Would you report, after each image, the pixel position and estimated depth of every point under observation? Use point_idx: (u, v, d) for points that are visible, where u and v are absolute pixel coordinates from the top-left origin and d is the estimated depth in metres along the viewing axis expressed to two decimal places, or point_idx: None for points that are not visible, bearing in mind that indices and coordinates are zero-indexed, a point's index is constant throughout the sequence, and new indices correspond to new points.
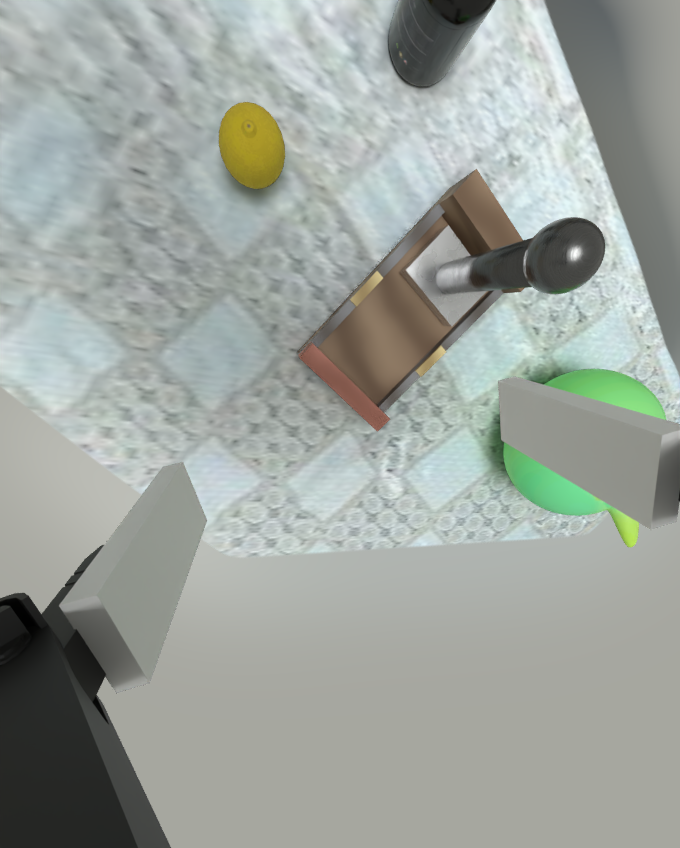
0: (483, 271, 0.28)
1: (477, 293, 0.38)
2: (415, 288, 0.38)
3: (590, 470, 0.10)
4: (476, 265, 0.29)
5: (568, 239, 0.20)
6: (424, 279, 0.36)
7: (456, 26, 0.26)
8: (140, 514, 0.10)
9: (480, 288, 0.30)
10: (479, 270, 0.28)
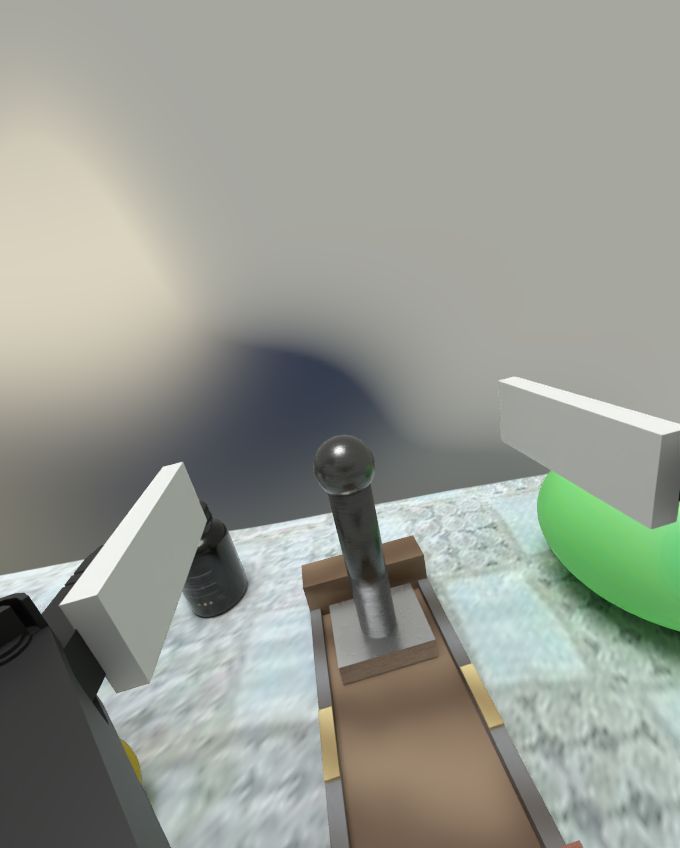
0: (350, 552, 0.26)
1: (410, 598, 0.32)
2: (370, 670, 0.28)
3: (591, 470, 0.10)
4: (347, 561, 0.26)
5: (321, 450, 0.24)
6: (362, 650, 0.28)
7: (213, 550, 0.37)
8: (140, 514, 0.10)
9: (373, 565, 0.26)
10: (350, 557, 0.26)
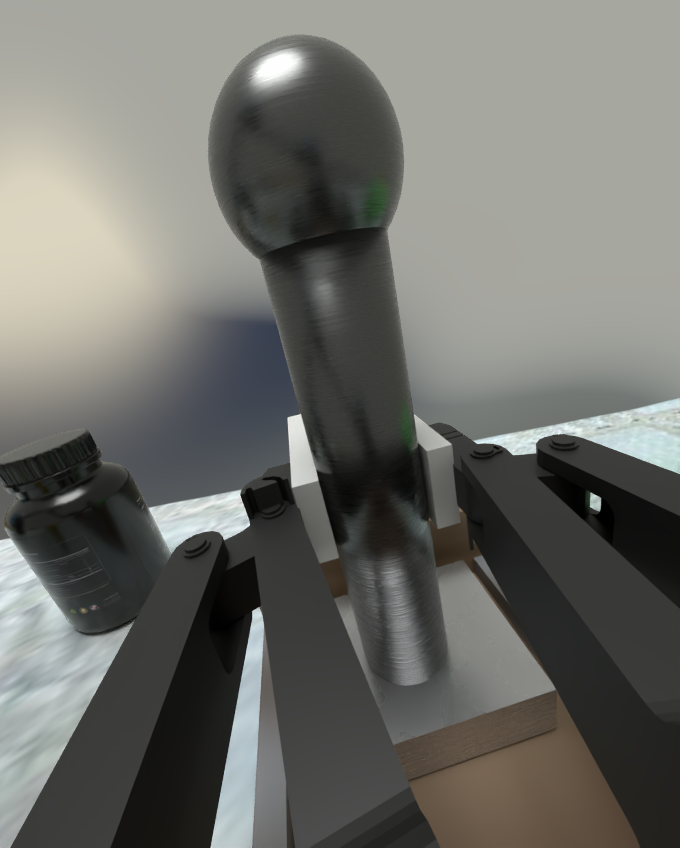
0: (334, 451, 0.09)
1: (469, 591, 0.15)
2: None
3: None
4: (328, 484, 0.10)
5: None
6: None
7: (92, 509, 0.20)
8: (301, 442, 0.12)
9: (400, 493, 0.09)
10: (335, 470, 0.09)
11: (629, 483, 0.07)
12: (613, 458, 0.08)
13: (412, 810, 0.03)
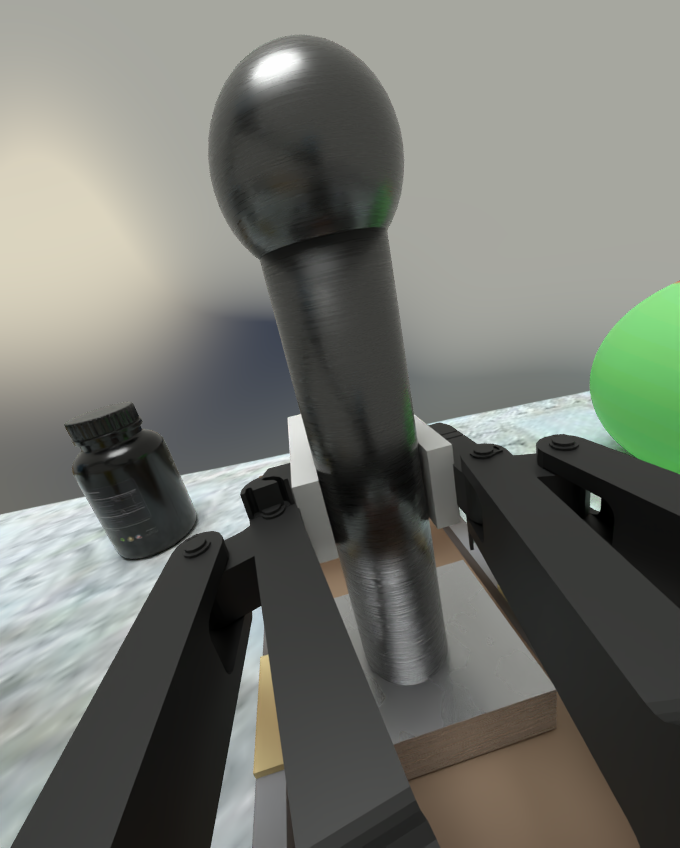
0: (334, 451, 0.09)
1: (469, 591, 0.15)
2: None
3: None
4: (328, 484, 0.10)
5: None
6: None
7: (138, 460, 0.26)
8: (302, 442, 0.12)
9: (400, 493, 0.09)
10: (335, 470, 0.09)
11: (629, 483, 0.07)
12: (614, 458, 0.08)
13: (412, 810, 0.03)
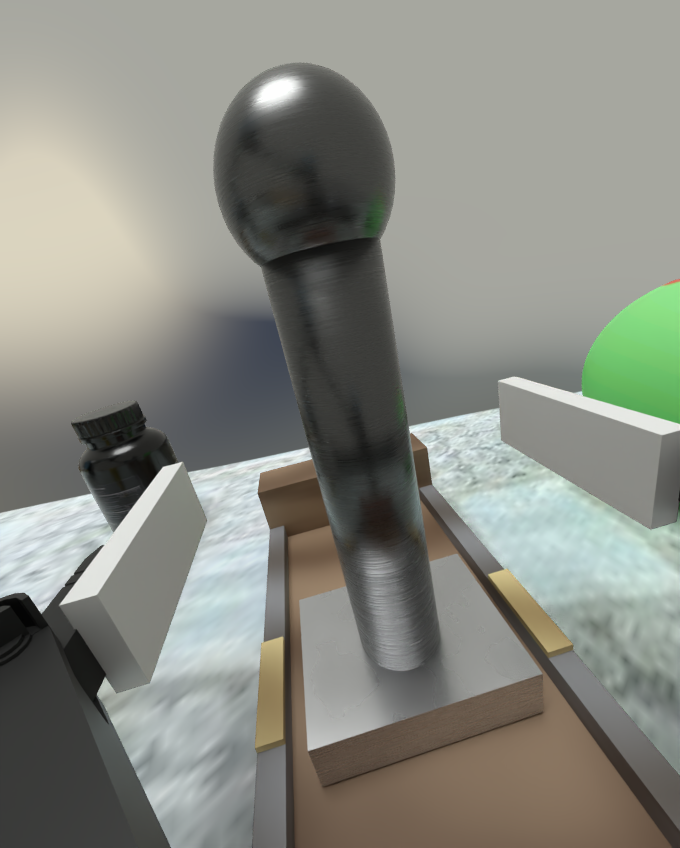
0: (331, 447, 0.10)
1: (462, 583, 0.15)
2: (386, 752, 0.11)
3: (591, 470, 0.10)
4: (325, 478, 0.10)
5: None
6: (365, 701, 0.12)
7: (143, 457, 0.27)
8: (140, 514, 0.10)
9: (393, 486, 0.10)
10: (332, 464, 0.10)
11: None
12: None
13: None
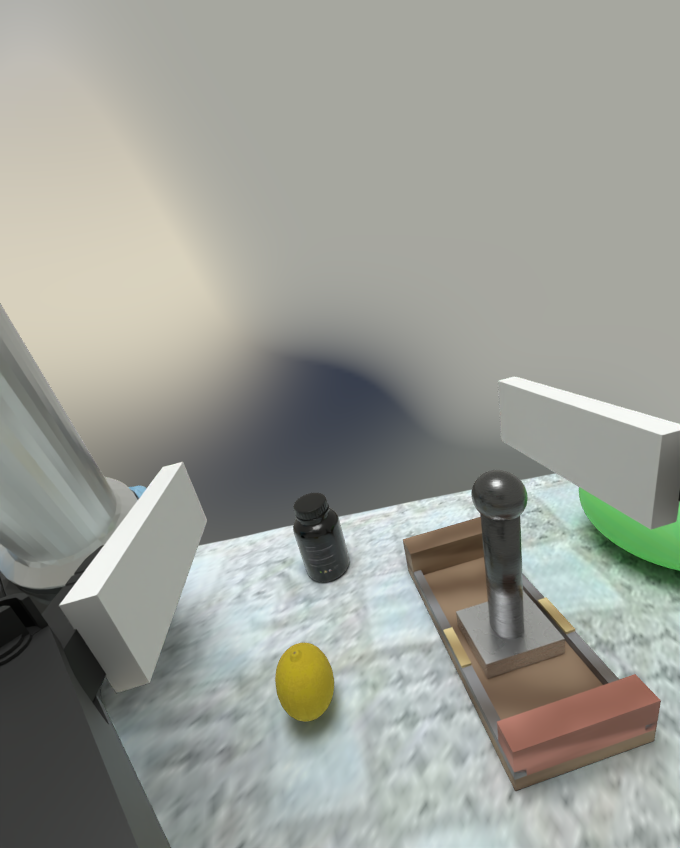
0: (500, 566, 0.31)
1: (528, 604, 0.37)
2: (510, 666, 0.33)
3: (591, 470, 0.10)
4: (494, 573, 0.32)
5: (485, 484, 0.29)
6: (501, 649, 0.33)
7: (334, 529, 0.48)
8: (140, 514, 0.10)
9: (518, 577, 0.31)
10: (499, 570, 0.31)
11: None
12: None
13: None
